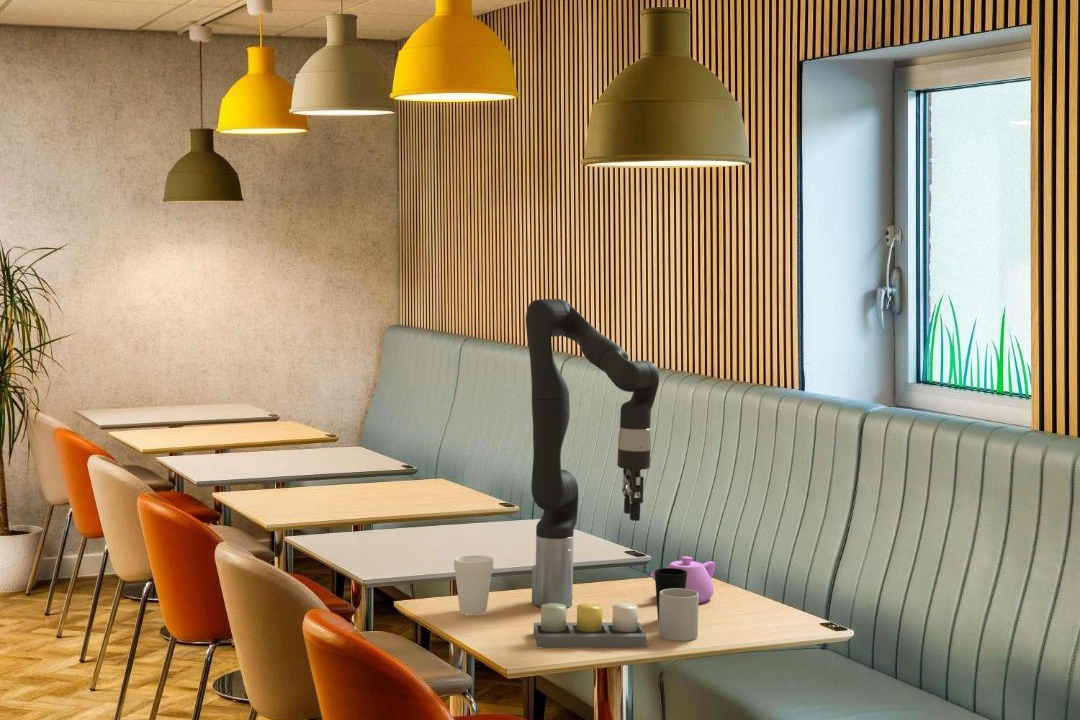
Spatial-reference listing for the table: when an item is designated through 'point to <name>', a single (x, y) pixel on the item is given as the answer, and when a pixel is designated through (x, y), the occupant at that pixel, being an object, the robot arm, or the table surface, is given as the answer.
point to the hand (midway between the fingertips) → (631, 516)
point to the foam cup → (473, 582)
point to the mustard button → (589, 617)
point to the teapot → (696, 576)
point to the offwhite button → (625, 617)
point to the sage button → (553, 617)
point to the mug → (678, 614)
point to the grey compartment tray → (589, 637)
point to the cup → (669, 580)
